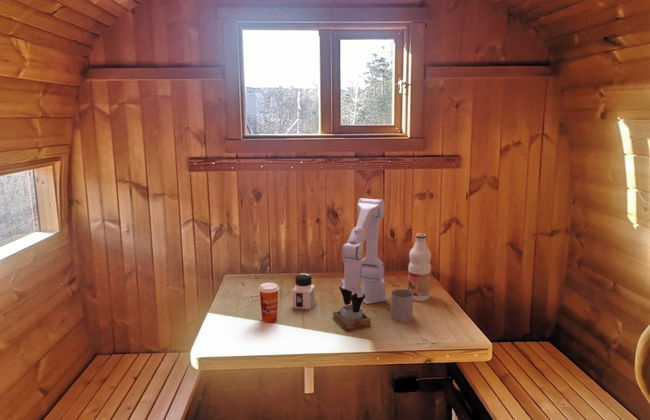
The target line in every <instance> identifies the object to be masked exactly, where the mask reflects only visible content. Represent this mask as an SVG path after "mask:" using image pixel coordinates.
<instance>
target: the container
mask: <svg viewBox="0 0 650 420" xmlns="http://www.w3.org/2000/svg"><path fill="white" fill-rule="evenodd" d="M294 278H295V286H294V287H293V289H292V291H291V292H292V295H291V298H292V304H291V305H292V308H293V309H302V310H303V309H304V310H311V309H312V307H313V306H314V304H315V302H316V301H315V299H316V298H315V297H316V294H315V284H313V283H312V276H311V274H307V273H300V274H299V273H298V274H297V275H296V276H295V277H294Z"/></svg>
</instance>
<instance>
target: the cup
mask: <svg viewBox="0 0 650 420" xmlns="http://www.w3.org/2000/svg"><path fill="white" fill-rule="evenodd" d="M390 298H391V300H390V301H391V302H390V318H391V319H392V320H394V321H396V322H400V323H405V322H406V323H407V322H411V320H413V309H414V307H413V306H414V305H413V304H414V300H413V292H411V291H409V290H408V289H405V288H404V289H403V288H399V289H398V288H397V289H393V290H392V291H391V296H390Z"/></svg>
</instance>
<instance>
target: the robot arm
mask: <svg viewBox="0 0 650 420" xmlns="http://www.w3.org/2000/svg"><path fill="white" fill-rule="evenodd" d="M385 206H386V205H385V202H384V199H381V198H380V199H376V198H364V197H361V198H359V199H358V201H357V211H358V219H357V221H356V226H355V227H353V228H352V229H351V232H350V234H349V237H348V239H347V242H346V243H344V244H343V245H342V248H341V256H342V262H343V263H344V269H343V270H344V275H343V276H344V278H343V279H341V282H340V283H341V286H339V287H338V289H339V291H340V293H341V295H342V301H343V303H344V306H347V305H352V307H353V312H354V313H357V312H359V310H360V307H361V306H362V304H363V303H364V304H366V305H369V304H375V303H381V302H386V301H387V298H386V287H387V285H386V281H385V280H384V274H385V268H384V262H383V261H382V260H381V259H380V258H379V257H378V250H379V249H378V248H379V247H378V246H379V235H380V234H379V233H380V232H379V229H380V221H381V220H380V219H384V216H385V208H386V207H385ZM365 240H366V244H365V245H366V246H365V257H363V258H362V256H363V251H364V246H363V245H364V242H365ZM360 280H361V281H360ZM360 282H362V284H361V283H360ZM360 284H361V285H360ZM361 286H362V287H361ZM353 293H354V294H353ZM361 308H362V307H361Z"/></svg>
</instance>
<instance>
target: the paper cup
mask: <svg viewBox="0 0 650 420" xmlns="http://www.w3.org/2000/svg"><path fill="white" fill-rule="evenodd" d="M279 290H280V287H279V285H278V284H277V283H275V282H263V283H262V284H260V285H259V288H258V291H259V299H260V300H259V301H260V309H261V310H260V311H261V320H262V321H263V323H267V324H272V323H276V322H277V320H278V307H279V306H278V302H279Z"/></svg>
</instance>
